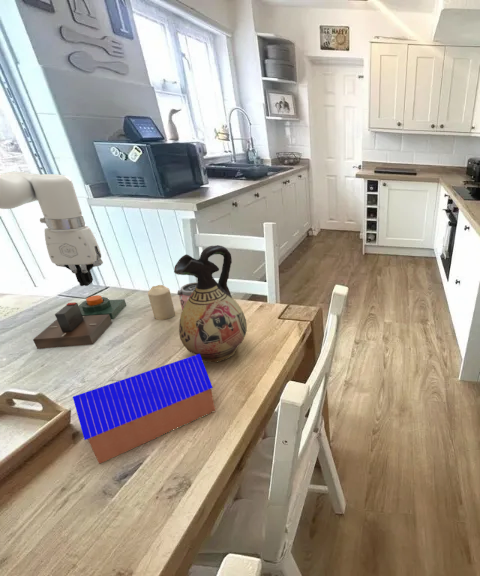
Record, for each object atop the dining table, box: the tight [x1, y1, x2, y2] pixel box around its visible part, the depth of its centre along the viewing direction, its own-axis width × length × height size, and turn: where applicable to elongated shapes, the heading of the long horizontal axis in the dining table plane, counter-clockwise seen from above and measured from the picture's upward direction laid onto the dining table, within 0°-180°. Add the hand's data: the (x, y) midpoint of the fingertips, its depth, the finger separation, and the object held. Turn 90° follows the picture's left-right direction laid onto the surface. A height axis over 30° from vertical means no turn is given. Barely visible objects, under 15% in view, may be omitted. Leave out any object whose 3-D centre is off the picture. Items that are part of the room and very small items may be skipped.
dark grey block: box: [54, 301, 84, 332], centre depth 87 cm, size 6×2×6 cm, turn 14°
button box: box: [78, 296, 127, 321], centre depth 99 cm, size 11×9×4 cm
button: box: [85, 294, 103, 305], centre depth 98 cm, size 4×4×2 cm
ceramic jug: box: [173, 244, 248, 363], centre depth 81 cm, size 17×15×30 cm
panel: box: [32, 314, 113, 350], centre depth 89 cm, size 12×11×3 cm
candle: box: [147, 284, 176, 321], centre depth 99 cm, size 6×6×10 cm
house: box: [72, 354, 216, 464], centre depth 64 cm, size 12×20×12 cm, turn 132°
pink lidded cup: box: [176, 281, 198, 312], centre depth 97 cm, size 9×8×12 cm
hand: (86, 283), depth 95 cm, fingers closed
